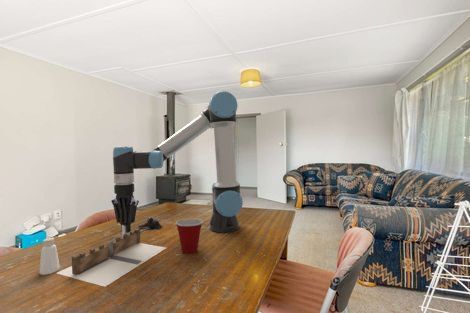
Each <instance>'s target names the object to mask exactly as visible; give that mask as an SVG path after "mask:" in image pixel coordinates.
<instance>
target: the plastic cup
mask: <svg viewBox="0 0 470 313" xmlns="http://www.w3.org/2000/svg"><path fill="white" fill-rule="evenodd" d="M203 223H204V220H202V219H200V218H182V219H178V220H176V221H175V225H176V229H177V232H178V238H179V242H180V243H179V245H180V246H181V251H182V253H183V254H185V255H192V254H195V253H196V252H197V251H198V249H199V248H198V247H199V242H200V236H201V235H200V234H201V230H202V226H203Z"/></svg>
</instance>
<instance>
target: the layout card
mask: <svg viewBox="0 0 470 313" xmlns="http://www.w3.org/2000/svg"><path fill="white" fill-rule="evenodd" d="M166 249H167V247H165V246H158V245H152V244H146V243H142V242H139V243H136V244H134V245H132V246H131V247H129V248H127V249H125V250H123V251H121V252H119V253H117V254H115V255H114V256H112V257H109V258H107V259H105V260H103V261H101V262H99V263H97V264H95V265H93V266H91V267H89V268H87V269H85V270H83V271H81V272H80V273H78V274H76V275H74V274H72V265H71V266H69V267H66V268H65V269H62V270H60V271H57V272H56V275H60V276H65V277H68V278H71V279H75V280H79V281H82V282H86V283H88V284H89V283H90V284H93V285H97V286H101V287H104V288H106V287H107V286H108V285H110V284H112V283H115V281H116V280H118V279H119V278H121V277H123V276H125V275H126V274H127V273H129V272H131V271H132V270H134V269H136V268H138V267H139V266H140V265H142V264H144V263H146V262H147V261H149V260H150V259H151V258H153V257H155V256H156V255H158V254H159V253H161V252H162V251H164V250H166Z"/></svg>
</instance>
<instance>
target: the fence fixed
mask: <svg viewBox="0 0 470 313" xmlns="http://www.w3.org/2000/svg"><path fill="white" fill-rule="evenodd" d="M107 258H109V257H108V246H107V245H105V244H99V245H98V248H97V249H96V248H94V247H91V248H90V249H89V252H88V253H87V254H86V253H85V252H81V253H79V254H75V255H72V256H71V266H72V274H74V275H76V274H78V273H80V272H81V271H83V270H85V269H87V268H89V267H91V266H93V265H95V264H97V263H99V262H101V261H103V260H105V259H107Z"/></svg>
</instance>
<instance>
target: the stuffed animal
mask: <svg viewBox="0 0 470 313" xmlns="http://www.w3.org/2000/svg"><path fill="white" fill-rule="evenodd" d="M146 221H147V222H145V223H143V224H138V225H137V227H138V229H143V230H140V234H141V233H143V232H146V231H149V230H154V231H158V230H160V229H161V228H163V225H162V224H160V221H159V220H157V219H154V218H153V217H151V216H149V217H147V220H146ZM144 228H145V229H144Z"/></svg>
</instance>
